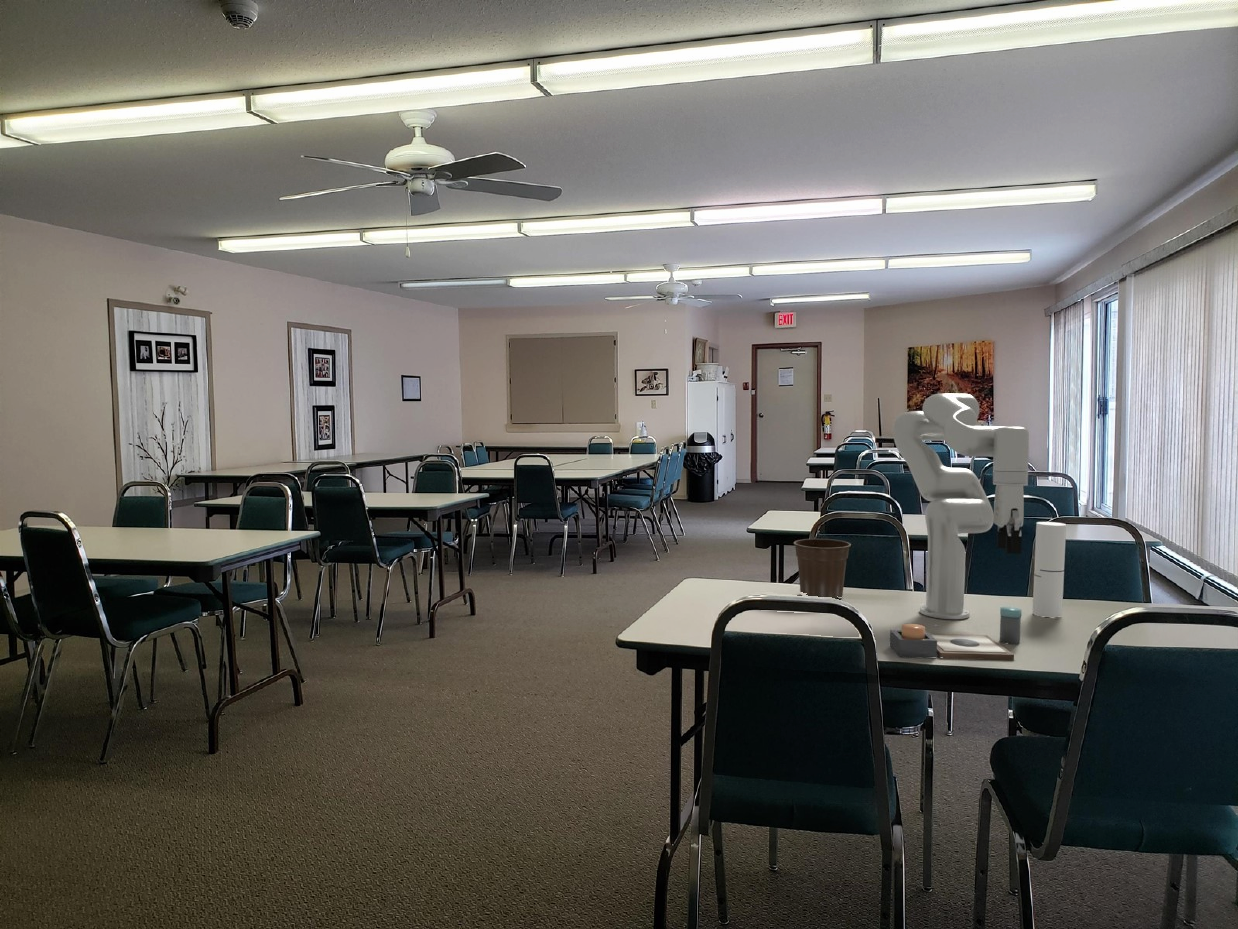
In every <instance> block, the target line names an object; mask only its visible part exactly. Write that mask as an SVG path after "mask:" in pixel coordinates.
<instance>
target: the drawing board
mask: <svg viewBox="0 0 1238 929" xmlns="http://www.w3.org/2000/svg"><path fill="white" fill-rule="evenodd" d="M929 634H930V635H931V636H933V637H934V638H935V639H936V640H937V656H938V657H939V658H940V657H943V658H942V659H954V658H955V659H956V660H957V658H958V660H960V659H961V660H996V661H997V660H1001V661H1003V660H1004V661H1014V660H1015V654H1013V653H1012V652H1011V651H1009V650H1008V649H1007V648H1005V647H1004V646H1002V645H1001V644H1000V643H998V642H997V640H994V639H993V638H992V637H990V636H989V635H988V634H953V633H952V634H951V633H950V634H949V633H929Z"/></svg>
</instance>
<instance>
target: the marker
mask: <svg viewBox="0 0 1238 929" xmlns="http://www.w3.org/2000/svg"><path fill="white" fill-rule="evenodd" d="M999 610H1000V613H999V614H1000V617H999V619H1000V621H999V622H1000V623H999V642H1000V643H1002V644H1005V643H1008V644H1007V645H1013V644H1015V645H1020V644H1019V643H1021V642H1020V641H1021V625H1022V624H1021V623H1022V622H1021V621H1022V619H1021V618H1022V614H1023V612H1022V608H1018V607H1015V606H1001V607H1000V609H999Z"/></svg>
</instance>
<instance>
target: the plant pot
mask: <svg viewBox="0 0 1238 929" xmlns="http://www.w3.org/2000/svg"><path fill="white" fill-rule="evenodd" d="M793 545H794V546H795V556H796V557H797V566H798V580H799V592H803V593H807V594H806V595H808V596H818V597H832V598H835V599H836V600H838V599H837V598H838V597H842V596H843V597H844V586H845V585H844V584H845V575H846V566H847V559H848V558H849V551H850V548H851V545H852V544H851V543H850V542H848V541H844V540H840V539H831V538H830V539H829V538H803V539H798V540H795V541H794V542H793ZM837 596H838V597H837ZM843 597H842V598H843Z"/></svg>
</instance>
